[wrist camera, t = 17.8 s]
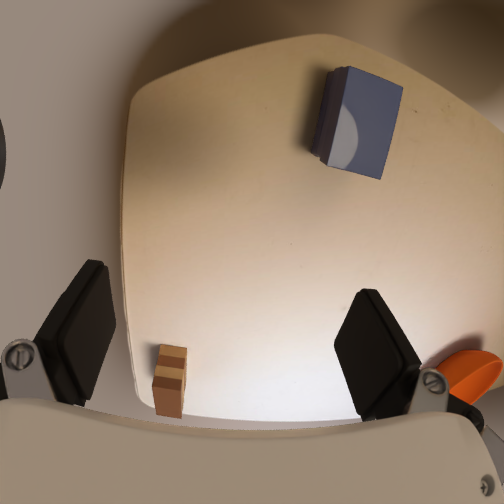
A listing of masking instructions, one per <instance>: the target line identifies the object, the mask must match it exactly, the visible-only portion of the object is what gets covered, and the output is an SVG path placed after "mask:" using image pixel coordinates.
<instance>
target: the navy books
mask: <svg viewBox="0 0 504 504" xmlns="http://www.w3.org/2000/svg"><path fill="white" fill-rule="evenodd" d="M340 68H344V67H339V68H336V69H335V70H334V71H330V72H328V75H327V80H326V85H325V90H324V95H323V99H322V104H321V108H320V113H319V118H318V122H317V126H316V131H315V135H314V140H313V144H312V148H311V154H313V155H314V156H316V157H321V153H322V149H323V145H324V140H325V136H326V132H327V128H328V123H329V119H330V114H331V110H332V105H333V101H334V96H335V91H336V87H337V82H338V77H339V72H340Z"/></svg>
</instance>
